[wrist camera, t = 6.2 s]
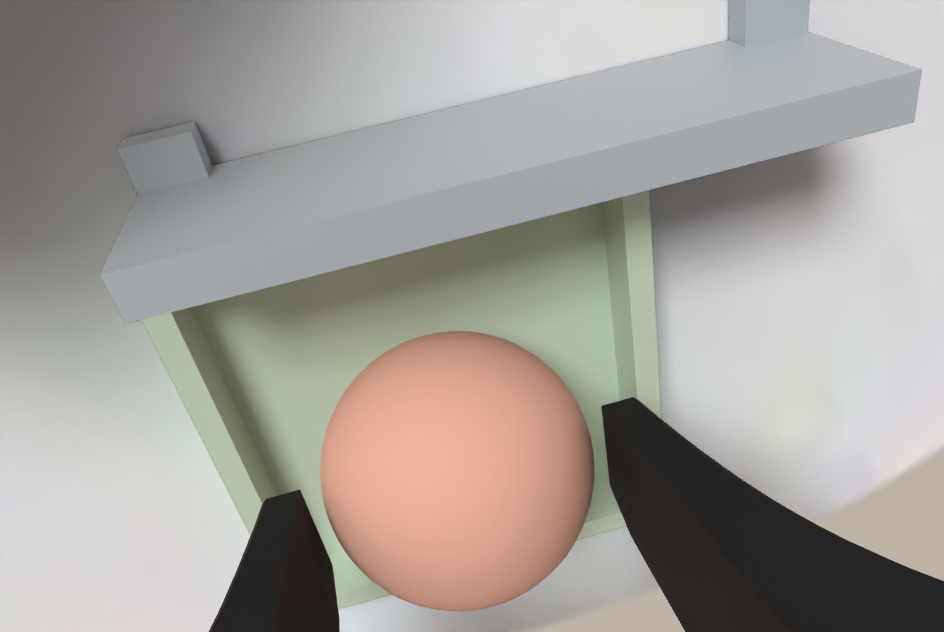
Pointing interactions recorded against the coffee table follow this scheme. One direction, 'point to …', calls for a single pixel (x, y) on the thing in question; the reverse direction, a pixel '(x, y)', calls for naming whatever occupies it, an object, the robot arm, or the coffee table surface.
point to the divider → (489, 161)
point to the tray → (407, 317)
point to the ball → (457, 470)
